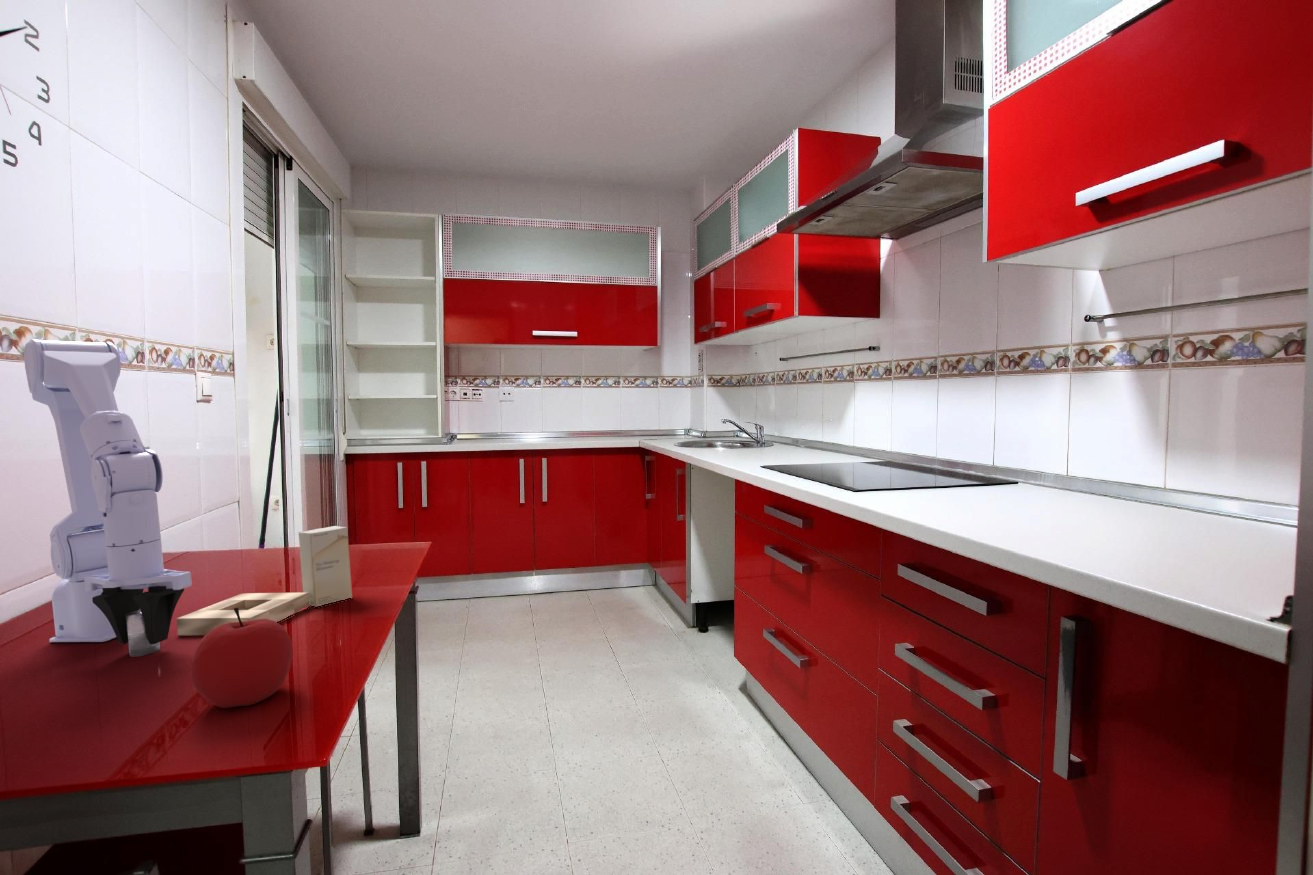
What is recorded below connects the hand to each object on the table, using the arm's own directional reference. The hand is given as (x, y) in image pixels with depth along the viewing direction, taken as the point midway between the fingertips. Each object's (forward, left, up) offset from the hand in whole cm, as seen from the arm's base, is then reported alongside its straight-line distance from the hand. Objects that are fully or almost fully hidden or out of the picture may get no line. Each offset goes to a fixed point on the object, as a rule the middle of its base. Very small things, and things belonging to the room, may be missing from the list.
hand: (143, 641), depth 85 cm
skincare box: (+12, +21, -2) cm, 24 cm away
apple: (+27, -13, -2) cm, 30 cm away
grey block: (0, 0, -1) cm, 1 cm away
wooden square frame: (+5, +12, -1) cm, 13 cm away
